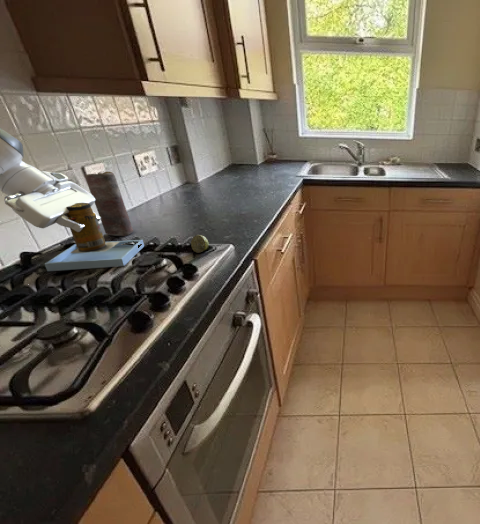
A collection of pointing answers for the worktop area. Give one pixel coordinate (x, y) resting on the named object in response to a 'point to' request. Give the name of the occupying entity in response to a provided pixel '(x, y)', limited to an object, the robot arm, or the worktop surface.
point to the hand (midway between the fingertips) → (90, 224)
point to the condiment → (87, 230)
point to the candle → (109, 203)
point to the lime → (199, 243)
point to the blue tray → (95, 257)
